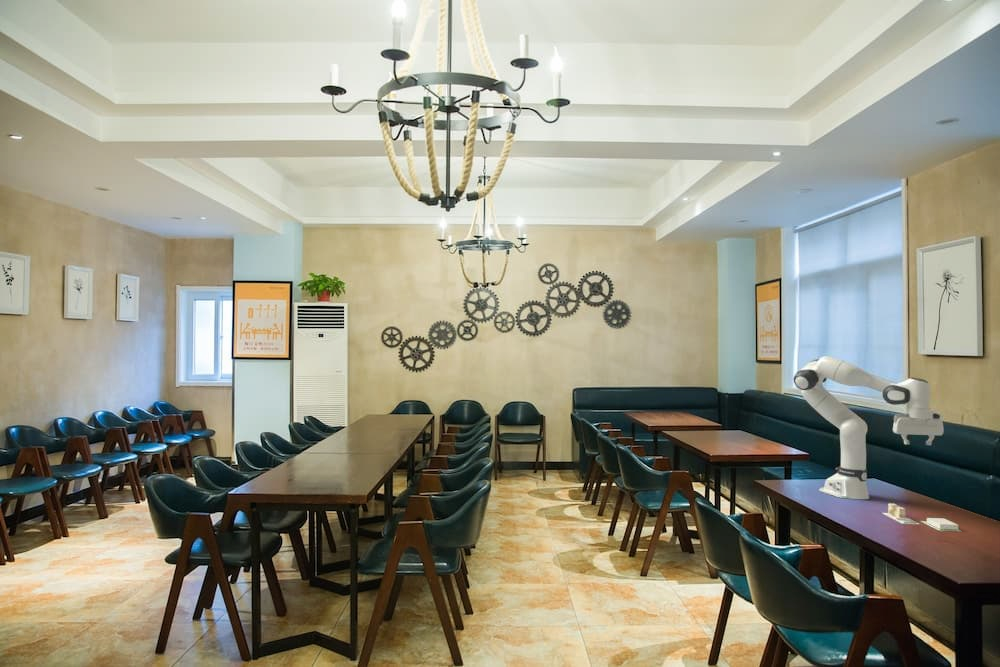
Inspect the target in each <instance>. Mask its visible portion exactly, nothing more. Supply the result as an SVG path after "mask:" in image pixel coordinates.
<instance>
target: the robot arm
mask: <svg viewBox="0 0 1000 667" xmlns="http://www.w3.org/2000/svg"><path fill="white" fill-rule="evenodd" d="M827 379H828V380H830V381H833V382H835V383H838V384H840V385H844V386H848V387H863V388H864V387H865V388H868V389H871V390H874V391H876V392H880V393H882V398H883V400H884V402H886V403H888V404H890V405H893V406H899V405H906V413H901V412H900V413H897V414H895V415H894V416H893V426H892V432H893V434H896V435H900V436H901V438H902V440H903V444H904V445H910V440H908V438H907V437H908V435H912V436H913V435H914V436H915V435H916V436H917V435H918V436H928V437H929V438H928V439H927V440H925V445H926V446H932V442H933V440H934V439H935V436H943V434H944V433H945V432H944V430H945V429H944V423H943V420H942V418H943V415H942V414H940V413H937V412H935V411H932V410H931V405H930V400H931V388H930V383H929V381H927V379H926V380H925V379H923V378H918V377H909V378H908V379H906V380H903V381H901V382H900V381H899V382H892V381H890V380H887V379H884V378H881V377H880V376H876V375H874V374H871V373H869V372H868V371H866V370H864V369H862V368H859V367H858V366H856V365H855V364H853V363H850V362H848V361H845V360H843V359H841V358H837V357H834V356H828V355H824V356H820V358H818V359H813V360H811V361H809V363H806V364H805V365H804V366H802V367H801V369H800V370H798V371H797V372H796V373H795V374H794V376H793V383H794V385H795V387H796V388H798V389H799V390H801V393H800V394H801V396H802V397H803V398H804V400H805V401H806V402H807V404H809V405H810V406H811V408H812V409H813V410H815V411H816V412H817V413H818V414H819V415H820V416H822V417H823V418H824V420H826V421H828V422H829V423H830V424H832V425H833V426H835V427H836V428H837V429H839V442H840V465H839V466H837V467H835V469H834V470H837V471H836V473H834V474H833V475H832V476H830V477H828V478H826V480H825V482H824V485H823V487H819V490H818V491H819V492H822V493H824V494H828V495H832V496H834V497H837V498H840V499H852V500H869V499H870V496H869V492H868V487H867V477H868V469H867V447H866V446H867V445H866V442H867V441H866V439H867V438H866V435H867V433H868V424H867V423H866V421H865V420H864V419H862V418H861V417H860V416H858V414H856V413H855V412H854V411H853V410H851V409H849V408H848V407H847V406H846V405H844V403H842V402H841V401H840V400H838V398H836V397H835V396H834V395H833V394H832V393H830V392H829V391H828V390H827V389H826V388H825V387H824V385H823V383H825V382H826V381H827Z"/></svg>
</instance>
